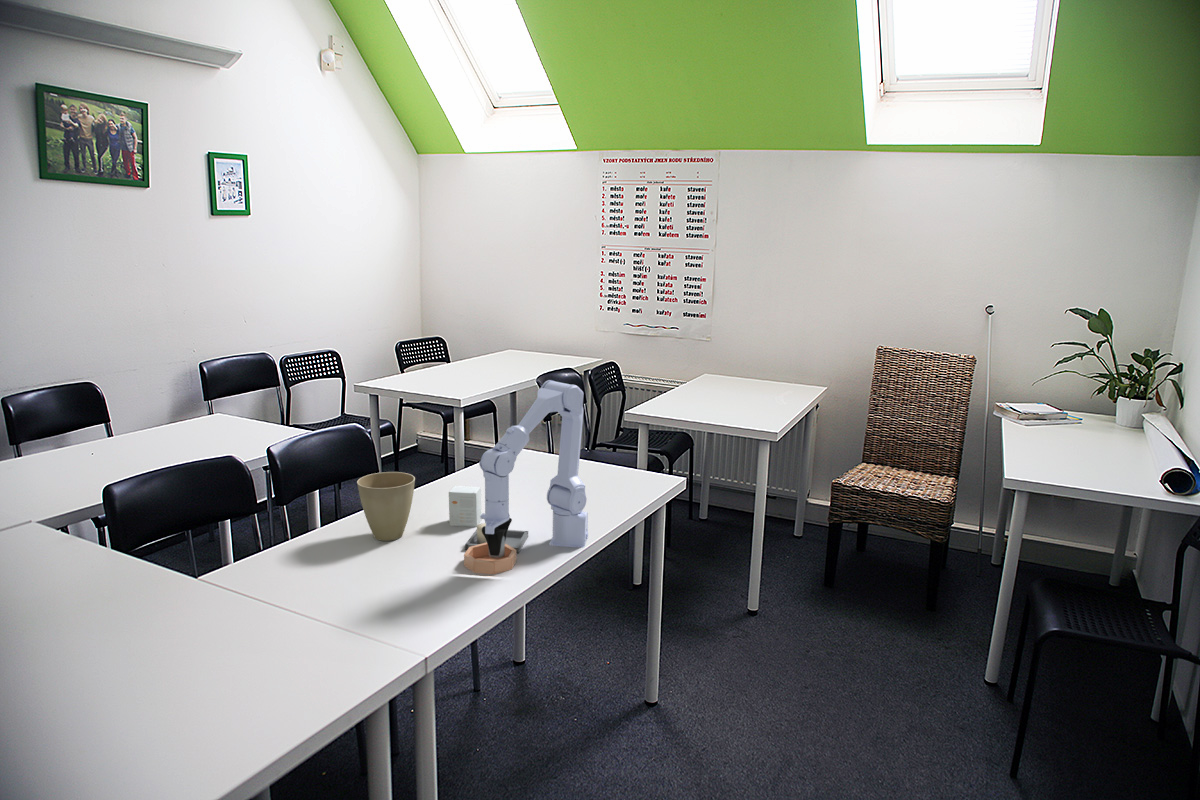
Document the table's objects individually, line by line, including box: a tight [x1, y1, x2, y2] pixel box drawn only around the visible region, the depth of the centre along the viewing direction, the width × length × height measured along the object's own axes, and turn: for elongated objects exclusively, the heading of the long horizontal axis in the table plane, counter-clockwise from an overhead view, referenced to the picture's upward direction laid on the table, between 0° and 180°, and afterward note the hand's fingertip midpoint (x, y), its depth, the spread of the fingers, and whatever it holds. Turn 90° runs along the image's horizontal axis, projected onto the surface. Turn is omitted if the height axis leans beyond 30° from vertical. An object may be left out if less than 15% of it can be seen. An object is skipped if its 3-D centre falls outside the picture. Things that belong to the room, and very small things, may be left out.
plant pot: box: [356, 471, 416, 542], centre depth 209 cm, size 15×15×16 cm
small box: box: [448, 485, 483, 528], centre depth 219 cm, size 8×6×10 cm
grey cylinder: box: [488, 536, 505, 558], centre depth 191 cm, size 4×4×4 cm
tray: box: [464, 529, 529, 555], centre depth 206 cm, size 14×12×2 cm
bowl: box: [463, 543, 517, 577], centre depth 193 cm, size 12×12×4 cm
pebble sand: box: [476, 522, 487, 544], centre depth 206 cm, size 4×4×4 cm
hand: (497, 551), depth 191 cm, fingers closed on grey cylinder, 4 cm apart
